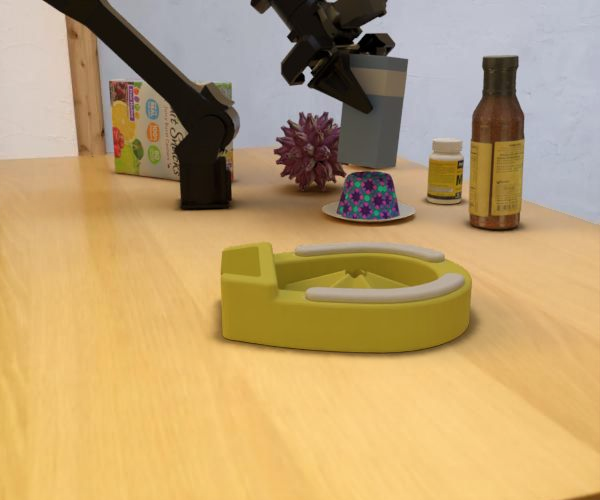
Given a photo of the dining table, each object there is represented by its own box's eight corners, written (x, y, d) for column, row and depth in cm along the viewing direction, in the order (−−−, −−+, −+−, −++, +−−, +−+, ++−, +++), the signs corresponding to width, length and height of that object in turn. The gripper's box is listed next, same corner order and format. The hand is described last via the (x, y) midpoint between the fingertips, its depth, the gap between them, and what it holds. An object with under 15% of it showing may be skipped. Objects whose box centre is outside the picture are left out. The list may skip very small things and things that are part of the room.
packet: (336, 161, 99) (346, 53, 96) (356, 160, 103) (367, 56, 99) (376, 168, 96) (388, 56, 92) (396, 167, 99) (408, 59, 96)
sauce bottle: (523, 222, 98) (539, 54, 92) (514, 233, 93) (529, 56, 87) (471, 216, 101) (482, 53, 94) (459, 228, 96) (470, 55, 89)
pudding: (352, 230, 95) (353, 187, 93) (305, 210, 105) (305, 171, 103) (434, 219, 100) (436, 178, 98) (382, 201, 110) (383, 163, 108)
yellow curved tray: (224, 287, 75) (223, 235, 73) (442, 282, 76) (445, 231, 74) (221, 357, 59) (219, 293, 57) (494, 349, 60) (499, 287, 59)
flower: (272, 194, 122) (343, 173, 125) (296, 207, 111) (373, 184, 114) (255, 119, 118) (328, 100, 121) (278, 125, 107) (358, 103, 110)
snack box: (236, 180, 124) (233, 81, 119) (214, 186, 120) (210, 83, 115) (136, 168, 135) (130, 76, 130) (112, 173, 131) (105, 78, 126)
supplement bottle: (460, 205, 107) (465, 142, 105) (425, 203, 108) (428, 141, 105) (461, 198, 112) (465, 137, 109) (427, 196, 113) (430, 136, 110)
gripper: (301, -43, 86) (387, 65, 84) (384, -34, 101) (459, 59, 99) (246, 32, 93) (324, 135, 91) (331, 30, 108) (400, 119, 106)
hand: (381, 109), depth 96 cm, fingers closed on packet, 5 cm apart
